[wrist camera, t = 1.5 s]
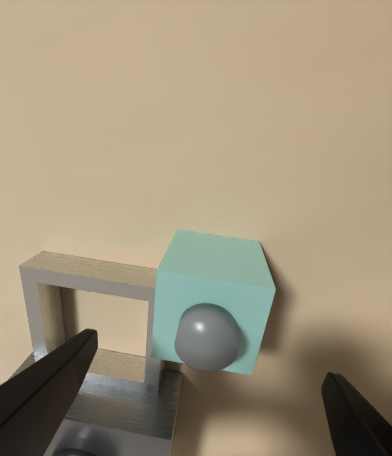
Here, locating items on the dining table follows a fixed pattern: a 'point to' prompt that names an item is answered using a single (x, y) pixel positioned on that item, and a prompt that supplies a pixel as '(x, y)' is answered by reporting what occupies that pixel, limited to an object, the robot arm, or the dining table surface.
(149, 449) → the square frame
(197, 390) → the dining table surface
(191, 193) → the dining table surface
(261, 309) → the mint block with knob
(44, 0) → the dining table surface
